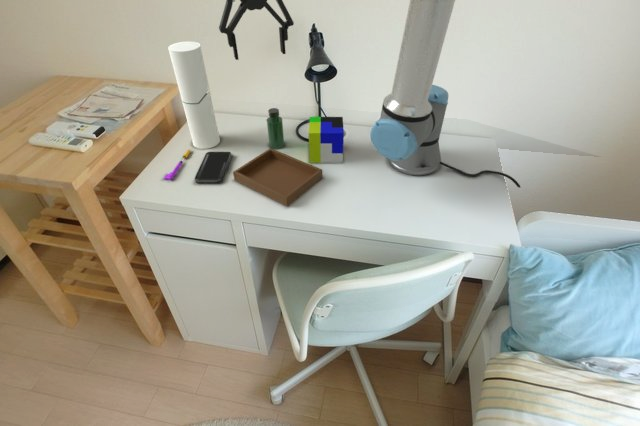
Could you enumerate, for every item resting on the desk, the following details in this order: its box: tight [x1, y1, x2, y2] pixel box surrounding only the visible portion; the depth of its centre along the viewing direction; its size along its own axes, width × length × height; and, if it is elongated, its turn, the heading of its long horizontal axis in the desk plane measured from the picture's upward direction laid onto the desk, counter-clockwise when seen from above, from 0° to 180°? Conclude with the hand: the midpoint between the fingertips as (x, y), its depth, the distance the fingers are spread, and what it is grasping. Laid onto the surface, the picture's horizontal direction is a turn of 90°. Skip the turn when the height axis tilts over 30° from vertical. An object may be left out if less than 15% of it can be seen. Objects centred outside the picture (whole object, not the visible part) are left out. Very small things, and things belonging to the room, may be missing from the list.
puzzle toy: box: [308, 116, 345, 164], centre depth 114 cm, size 10×10×10 cm
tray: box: [232, 147, 323, 208], centre depth 107 cm, size 20×16×3 cm
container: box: [167, 41, 221, 150], centre depth 114 cm, size 9×9×30 cm
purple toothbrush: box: [163, 148, 192, 181], centre depth 113 cm, size 3×1×16 cm
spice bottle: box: [266, 107, 285, 150], centre depth 118 cm, size 5×5×12 cm
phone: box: [194, 151, 233, 185], centre depth 111 cm, size 8×1×15 cm
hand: (260, 55), depth 108 cm, fingers open, 13 cm apart
